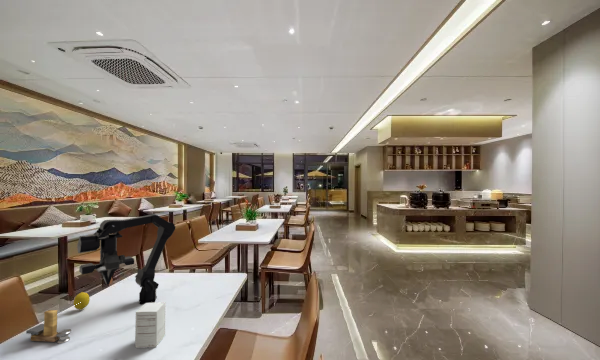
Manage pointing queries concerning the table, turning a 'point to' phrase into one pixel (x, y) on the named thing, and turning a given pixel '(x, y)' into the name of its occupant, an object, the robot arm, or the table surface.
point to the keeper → (36, 330)
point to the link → (48, 328)
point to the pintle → (63, 336)
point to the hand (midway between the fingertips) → (107, 284)
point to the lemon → (81, 300)
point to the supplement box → (150, 325)
